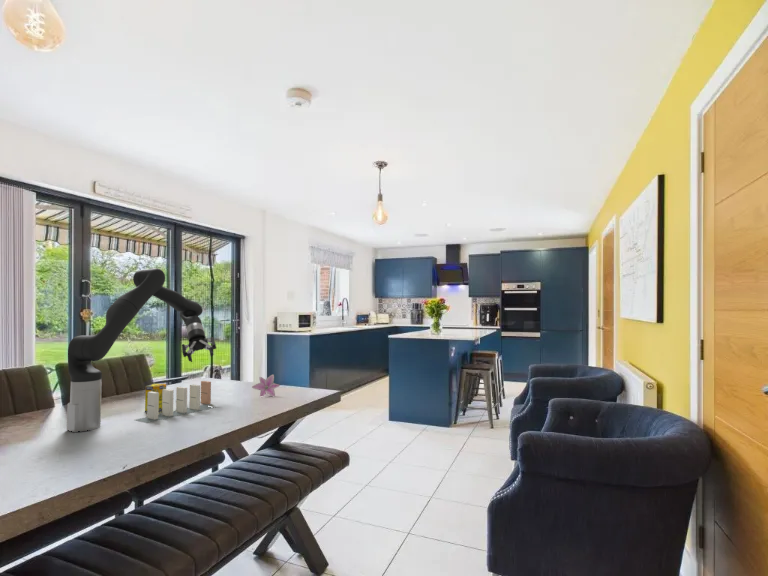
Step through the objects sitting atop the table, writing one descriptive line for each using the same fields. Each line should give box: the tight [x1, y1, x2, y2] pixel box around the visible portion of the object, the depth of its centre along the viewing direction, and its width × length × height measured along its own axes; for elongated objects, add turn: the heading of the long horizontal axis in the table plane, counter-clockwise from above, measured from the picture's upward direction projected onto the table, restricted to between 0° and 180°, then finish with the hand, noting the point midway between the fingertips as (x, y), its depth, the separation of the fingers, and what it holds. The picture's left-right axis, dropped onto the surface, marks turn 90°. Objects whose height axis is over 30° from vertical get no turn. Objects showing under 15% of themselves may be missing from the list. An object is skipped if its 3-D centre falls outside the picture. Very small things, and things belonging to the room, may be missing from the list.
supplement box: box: [144, 383, 167, 413], centre depth 179 cm, size 6×6×11 cm
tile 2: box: [188, 384, 201, 410], centre depth 181 cm, size 2×5×10 cm, turn 58°
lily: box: [251, 374, 281, 397], centre depth 210 cm, size 12×12×10 cm
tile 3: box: [175, 386, 188, 413], centre depth 176 cm, size 2×5×10 cm, turn 58°
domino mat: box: [135, 404, 215, 424], centre depth 175 cm, size 31×9×1 cm, turn 148°
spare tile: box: [200, 380, 212, 405], centre depth 193 cm, size 2×5×10 cm, turn 58°
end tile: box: [146, 391, 159, 420], centre depth 166 cm, size 2×5×10 cm, turn 58°
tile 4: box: [161, 388, 174, 416], centre depth 171 cm, size 2×5×10 cm, turn 58°
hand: (201, 357), depth 192 cm, fingers open, 8 cm apart
